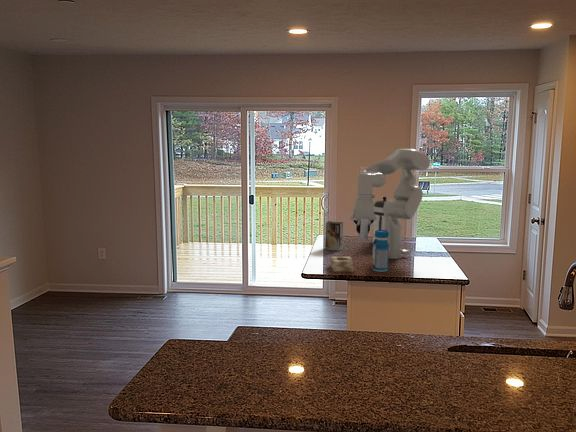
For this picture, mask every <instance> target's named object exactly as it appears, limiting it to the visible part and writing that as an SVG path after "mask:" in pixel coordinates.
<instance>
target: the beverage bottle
mask: <svg viewBox="0 0 576 432" xmlns="http://www.w3.org/2000/svg"><path fill="white" fill-rule="evenodd" d="M375 237H376V239H375V240H374V242H373V241H372V243H373V244H372V249H371V250H372V263H371V270H373V271H375V272H379V273H382V272H383V273H384V272H385V273H386V272H388V271H389V260H390V259H389V251H390V249H389V246H390V244H389V241H388V239H387V238H388V237H389V231H387V230H376V231H375Z"/></svg>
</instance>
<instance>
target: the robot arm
mask: <svg viewBox="0 0 576 432" xmlns="http://www.w3.org/2000/svg"><path fill="white" fill-rule="evenodd" d="M430 164H431V160H430V158H429V157H428V155H426V154H425V153H422V152H421V151H419V150H416V149H414V148H398V149H396V150H394V152H392V153H391V154H389V155H388V156H387V157H386V158H385V159H384V160H381V161H378V162H375V163H373V164H370V165H368V166H367V167H366V168H364V169H363V170H362V171H361V172H359V174H357V188H356V189H357V190H356V191H357V192H356V193H357V194H356V199H355V200H354V204H353V212H352V215H351V216H350V218H349V220H351V221H352V222H354V224H355V225H356V227H355V228H356V229H355V230H356V231H355V232H356V233H357V234H358V233H360V220H361V219H368V234H369V233H370V231H371V225H373V222H374V221H376V220H377V218H376V216H375V214H374V204H375V202H374V199H375V198H376V196H375V195H374V194H373V188H381V187H383V186H384V185H385V184H386V183H387V177H386V176H387V175H391V174H394V173H395V172H397V171H398V170H399V169H400V172H401V177H400V180H399V181H398V183H397V185H396V187H395V189H394V191H393V198H394V199H388V200H386V201H387V202H385V204H384V207H383V211H384V220H385V223H384V230H387V231H389V237H388V238H387V239H388V241H389V244H390V246H389V249H390V251H389V260H400V259H402V258H403V257H404V255H405V254H407V255H409V254H410V250H408V249H407V250H406V249H402V248H401V247H402V231H403V225H402V222H401V219H402V220H411V219H413V218H414V216H415V214H416V213H417V210H418V208H419V206H420V205H421V202H422V199H423V196H424V195H423V193H424V192H423V189H422V188H421V187H420V186H418V185H416V183H417V182H416V181H417V179H416V175H415V174H414V173H415V172H414V171H421V172H423V171H427V169H429V167H430Z"/></svg>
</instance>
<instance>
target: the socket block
mask: <svg viewBox="0 0 576 432" xmlns="http://www.w3.org/2000/svg"><path fill="white" fill-rule="evenodd" d="M354 266H355V262H354V260H353V258H352V257H351V256H330V268H331V270H332V271H333V272H354V270H355V269H354Z"/></svg>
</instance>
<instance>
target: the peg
mask: <svg viewBox="0 0 576 432" xmlns="http://www.w3.org/2000/svg"><path fill="white" fill-rule="evenodd" d="M368 235H369V233H368V219H361V220H360V233H358V232H357V238H358V240H360V241H361V240H363V241H364V240H368V237H369V236H368Z"/></svg>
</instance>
